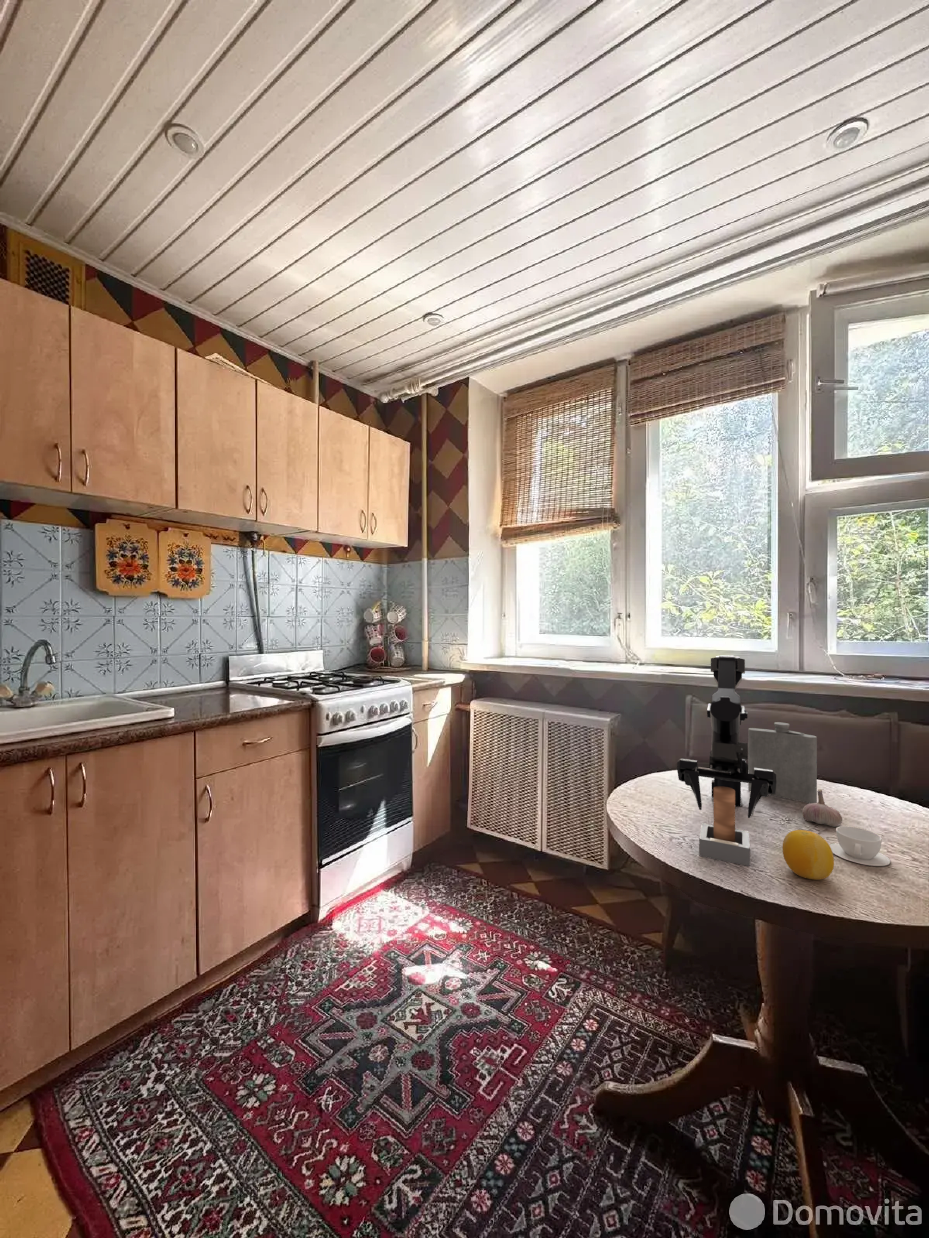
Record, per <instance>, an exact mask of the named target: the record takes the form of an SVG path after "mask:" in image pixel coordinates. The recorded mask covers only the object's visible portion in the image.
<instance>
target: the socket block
mask: <svg viewBox="0 0 929 1238" xmlns="http://www.w3.org/2000/svg"><path fill="white" fill-rule="evenodd" d="M699 832H700V833H699V837H698V846H699V849H698V851H699V852H698V854H699V856H700V857H702V858H708V859H713V860H717V861H722V862H728V863H732V864H735V865H736V864H738V865H742V866H744V867H745V866H746V867H750V866H751V847H750V844H751V843H750V842H751V841H750V831H748V830H743V829H737V828H735V842H730V841H725V840H720V839H714V824H710V823H704V822H702V823H701V826H700V831H699Z"/></svg>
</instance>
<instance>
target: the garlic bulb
mask: <svg viewBox="0 0 929 1238" xmlns="http://www.w3.org/2000/svg"><path fill="white" fill-rule="evenodd" d="M823 795H824V794H823V789H821V788H819V789H817V803H807V804H805V806H803V809H802V818H803V819H804V820H805V821H807V822H810V823H811V822H814V823H816V824H818V825H825V826H829V827H836V828H837V827H839V825H841V824H842V823H843V816H842V815H841V814H840V812H839V811H838V810H837V809H835V808H833V807H831V806H829V805H827V804H826V803H825V799H824V796H823Z"/></svg>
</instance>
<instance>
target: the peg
mask: <svg viewBox="0 0 929 1238" xmlns="http://www.w3.org/2000/svg"><path fill="white" fill-rule="evenodd" d="M713 789H714V798H713V799H714V802H713V825H714V839H720V840H725V841H730V842H735V829H736V806H735V790H734V789H732V788H729V787H723V786H716V787H714V788H713Z"/></svg>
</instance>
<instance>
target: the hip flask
mask: <svg viewBox="0 0 929 1238" xmlns="http://www.w3.org/2000/svg"><path fill="white" fill-rule="evenodd" d="M773 726H774V729H766V728H755V727H749V728H747V729H748V732H747V733H748V734H747V735H748V736H747V737H748V742H747V743H748V759H747V761H748V762H747V764H748V774H754V768H760V769H768V770H773V771H774V772H775V773H776V792H775V794H773V795H771V794H768V796H773V797H779V798H783V797H784V799H789V800H794V801H797V802H801V803H807V804H810V803H818V792H817V791H818V780H817V779H818V776H817V775H818V768H817V766H818V761H817V760H818V749H817V748H818V738H817V737H818V736H815V735H812V734H805V733H804V732H799V731H794V730H790V729H789V728H790V723H786V722H780V721H777V722H776V721H775V722H774V723H773ZM747 784H748V788H747V789H748V791H749V792H750V791H751V783H747Z"/></svg>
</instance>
